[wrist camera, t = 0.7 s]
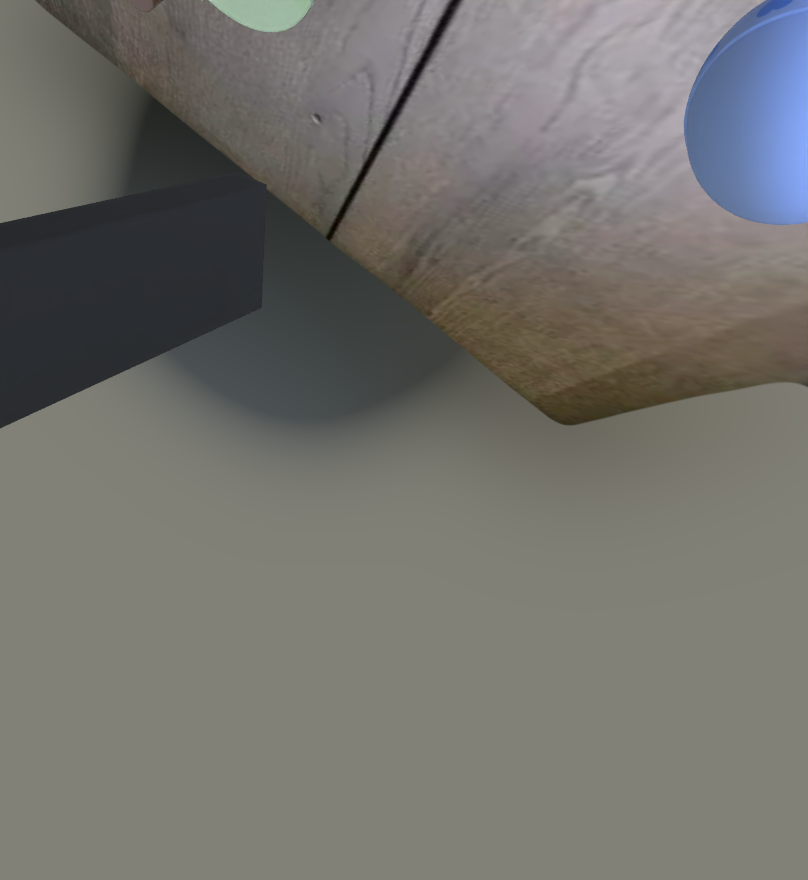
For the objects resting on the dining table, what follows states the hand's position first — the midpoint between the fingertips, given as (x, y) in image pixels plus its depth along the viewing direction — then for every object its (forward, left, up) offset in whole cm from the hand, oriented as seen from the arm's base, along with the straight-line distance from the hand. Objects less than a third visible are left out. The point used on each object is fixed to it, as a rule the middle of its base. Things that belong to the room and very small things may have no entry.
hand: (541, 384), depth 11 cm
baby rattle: (+7, -3, -34) cm, 35 cm away
